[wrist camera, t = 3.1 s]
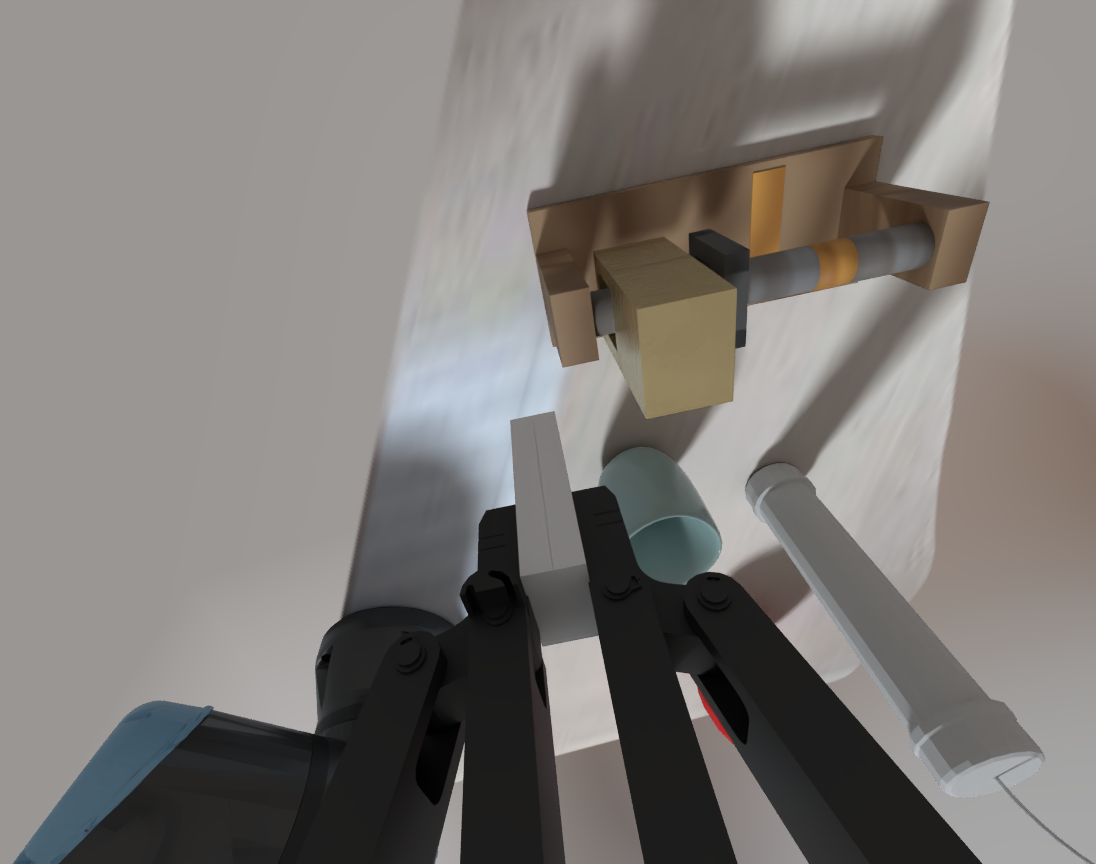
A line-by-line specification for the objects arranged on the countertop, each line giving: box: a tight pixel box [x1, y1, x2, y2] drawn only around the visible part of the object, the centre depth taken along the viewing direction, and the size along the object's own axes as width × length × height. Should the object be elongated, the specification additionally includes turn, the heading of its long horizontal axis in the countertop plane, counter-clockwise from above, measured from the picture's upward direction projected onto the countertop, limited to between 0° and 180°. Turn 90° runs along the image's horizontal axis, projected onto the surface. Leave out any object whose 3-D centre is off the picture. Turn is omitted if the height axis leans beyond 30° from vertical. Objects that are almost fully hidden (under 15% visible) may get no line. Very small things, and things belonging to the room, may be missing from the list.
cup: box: [598, 447, 722, 585], centre depth 39 cm, size 8×8×10 cm
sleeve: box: [593, 236, 737, 419], centre depth 25 cm, size 4×5×10 cm
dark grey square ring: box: [689, 229, 750, 349], centre depth 27 cm, size 1×5×5 cm, turn 10°
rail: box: [527, 136, 989, 367], centre depth 29 cm, size 22×9×10 cm, turn 100°
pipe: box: [745, 463, 1094, 864], centre depth 33 cm, size 6×6×30 cm
